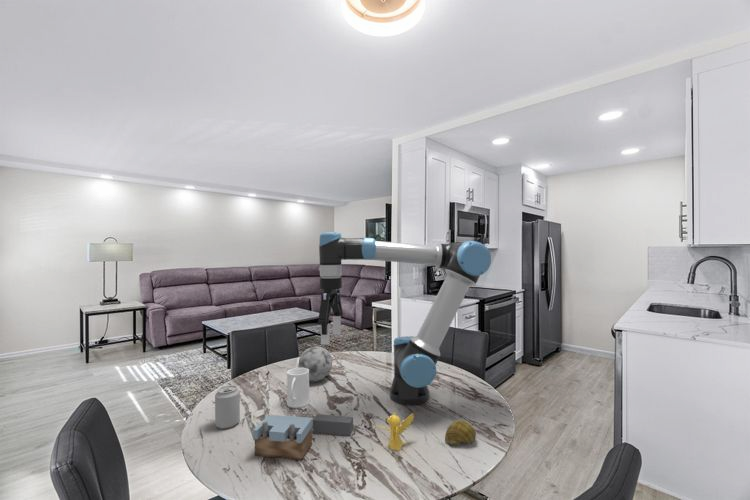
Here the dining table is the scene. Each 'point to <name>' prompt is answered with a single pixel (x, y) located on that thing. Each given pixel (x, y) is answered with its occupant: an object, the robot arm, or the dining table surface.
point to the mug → (298, 387)
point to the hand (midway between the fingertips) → (331, 339)
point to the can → (227, 407)
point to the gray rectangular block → (333, 424)
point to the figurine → (397, 430)
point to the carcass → (282, 445)
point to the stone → (316, 362)
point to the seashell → (460, 433)
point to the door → (284, 427)
